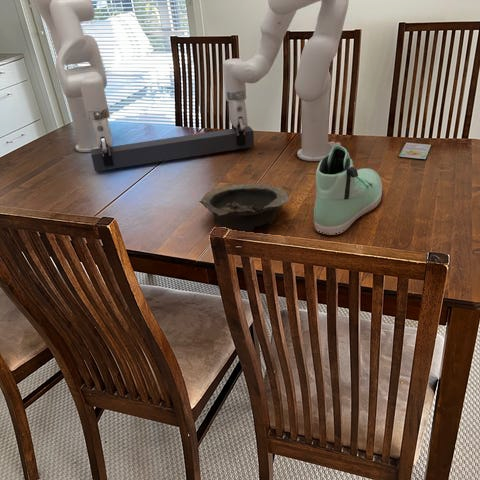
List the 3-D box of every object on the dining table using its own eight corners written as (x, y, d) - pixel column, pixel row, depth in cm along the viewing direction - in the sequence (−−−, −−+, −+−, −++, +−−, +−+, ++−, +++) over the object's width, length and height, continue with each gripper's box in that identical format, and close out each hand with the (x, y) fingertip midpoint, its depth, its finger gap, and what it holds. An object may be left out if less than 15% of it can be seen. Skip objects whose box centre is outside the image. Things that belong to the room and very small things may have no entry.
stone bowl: (227, 251, 123) (222, 218, 119) (191, 218, 143) (186, 190, 139) (307, 222, 132) (305, 191, 128) (262, 196, 152) (259, 168, 148)
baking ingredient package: (399, 155, 168) (406, 141, 179) (398, 156, 168) (406, 143, 179) (425, 158, 164) (431, 144, 176) (425, 159, 164) (431, 145, 176)
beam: (95, 171, 173) (91, 154, 170) (95, 165, 178) (91, 149, 174) (254, 146, 183) (253, 130, 180) (250, 141, 188) (249, 126, 185)
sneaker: (389, 187, 148) (396, 123, 138) (356, 242, 123) (361, 168, 112) (346, 181, 154) (350, 119, 144) (306, 232, 129) (307, 161, 118)
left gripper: (109, 119, 160) (120, 169, 169) (108, 106, 174) (118, 153, 183) (86, 122, 158) (98, 173, 168) (87, 108, 173) (98, 156, 182)
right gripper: (251, 99, 168) (254, 148, 177) (240, 88, 182) (243, 134, 192) (231, 102, 167) (234, 151, 176) (220, 90, 181) (224, 136, 190)
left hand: (109, 162), depth 175 cm, fingers closed on beam, 5 cm apart
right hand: (239, 142), depth 184 cm, fingers closed on beam, 5 cm apart
